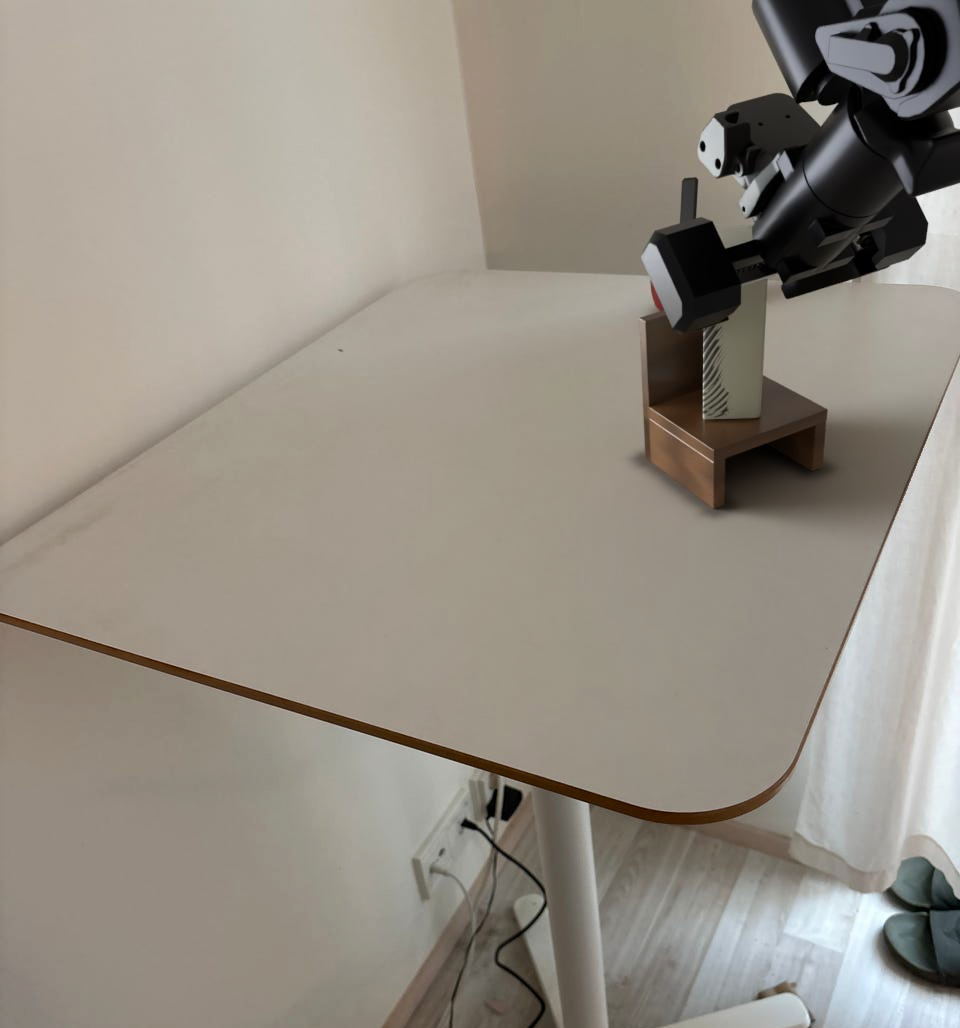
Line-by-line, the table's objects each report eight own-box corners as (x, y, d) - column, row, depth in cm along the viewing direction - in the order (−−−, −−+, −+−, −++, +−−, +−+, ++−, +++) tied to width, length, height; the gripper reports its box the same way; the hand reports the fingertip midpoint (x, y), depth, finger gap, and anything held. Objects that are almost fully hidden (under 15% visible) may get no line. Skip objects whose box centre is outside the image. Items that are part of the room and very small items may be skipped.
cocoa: (680, 330, 99) (678, 209, 91) (632, 320, 103) (626, 203, 95) (733, 298, 103) (735, 179, 96) (685, 289, 107) (683, 175, 100)
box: (705, 392, 76) (705, 225, 68) (762, 390, 75) (769, 220, 67) (701, 423, 72) (701, 250, 64) (762, 421, 71) (769, 245, 63)
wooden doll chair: (822, 467, 74) (835, 317, 67) (713, 509, 72) (714, 358, 65) (746, 421, 82) (750, 281, 74) (644, 457, 80) (638, 317, 72)
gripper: (921, 16, 57) (793, 181, 72) (650, 86, 53) (575, 246, 68) (1001, 178, 56) (854, 312, 71) (732, 263, 52) (637, 386, 67)
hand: (732, 310), depth 69 cm, fingers open, 9 cm apart
